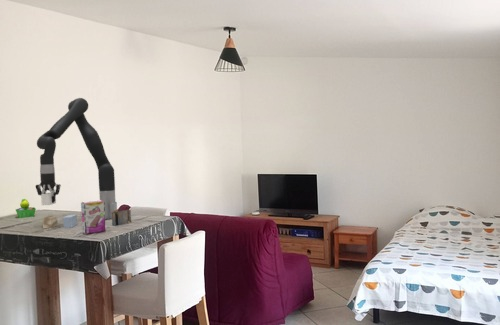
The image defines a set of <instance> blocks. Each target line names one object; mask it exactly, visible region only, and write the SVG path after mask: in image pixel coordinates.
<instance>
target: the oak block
mask: <svg viewBox="0 0 500 325" xmlns="http://www.w3.org/2000/svg"><path fill="white" fill-rule="evenodd" d="M55 226H56V227H58V215H48V216H44V217H42V227H43V228H51V229H53V227H54V228H55ZM43 228H42V229H43Z"/></svg>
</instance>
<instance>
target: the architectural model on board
mask: <svg viewBox="0 0 500 325" xmlns="http://www.w3.org/2000/svg"><path fill="white" fill-rule="evenodd" d="M112 212H113V213H112V219H111V226H113V227H116V226H117V225H118V226H122V225H126V224H131V223H132V213H131V209H125V210H120V211H119V208H117V210H116V209H115V210H114V211H112Z"/></svg>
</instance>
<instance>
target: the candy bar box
mask: <svg viewBox="0 0 500 325" xmlns="http://www.w3.org/2000/svg"><path fill="white" fill-rule="evenodd" d="M80 208H81V210H80V211H81V214H80V215H81V233H82V234H83V235H88V234H95V233H101V232H106V219H105V204H104V201H101V200H100V199H99V200H92V201H91V200H90V201H81V202H80Z"/></svg>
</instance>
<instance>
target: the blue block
mask: <svg viewBox="0 0 500 325" xmlns="http://www.w3.org/2000/svg"><path fill="white" fill-rule="evenodd" d="M77 217H78V216H77V214H67V215H66V216H63V217H62V222H63V224H62V227H63V229H70V228H73V227H74V228H75V227H76V226H77V225H78V218H77Z"/></svg>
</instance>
